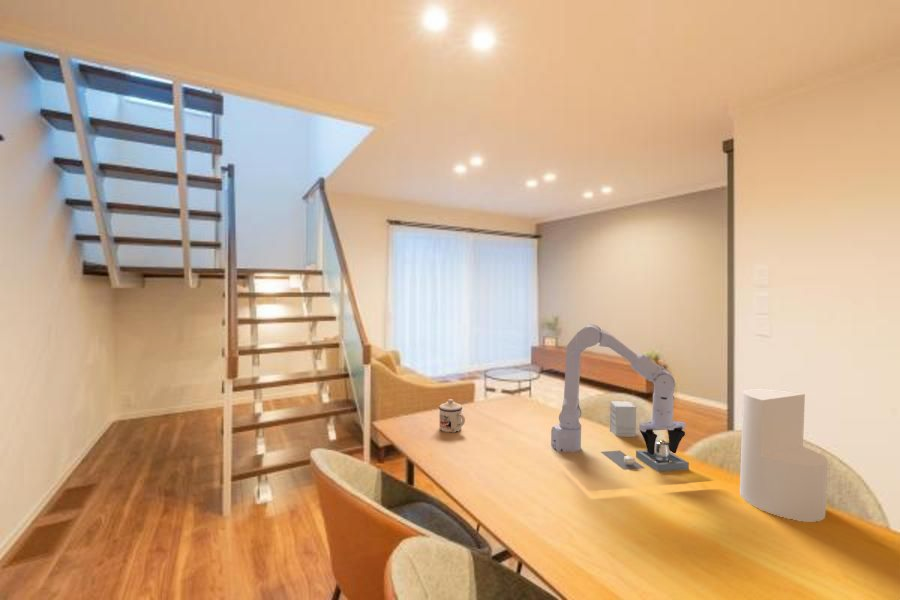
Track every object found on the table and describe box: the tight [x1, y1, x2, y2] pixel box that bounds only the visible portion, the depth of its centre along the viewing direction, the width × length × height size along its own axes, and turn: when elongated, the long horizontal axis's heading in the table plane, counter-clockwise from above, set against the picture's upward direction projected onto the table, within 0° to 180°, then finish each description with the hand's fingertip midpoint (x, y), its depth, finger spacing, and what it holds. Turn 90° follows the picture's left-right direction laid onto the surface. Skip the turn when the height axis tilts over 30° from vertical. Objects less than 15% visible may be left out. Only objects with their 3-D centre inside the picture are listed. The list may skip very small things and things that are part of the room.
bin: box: [635, 449, 690, 472], centre depth 125 cm, size 10×10×4 cm
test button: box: [624, 455, 636, 465], centre depth 123 cm, size 3×3×2 cm
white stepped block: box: [739, 388, 829, 523], centre depth 104 cm, size 17×17×28 cm
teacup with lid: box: [438, 398, 466, 433], centre depth 156 cm, size 12×9×12 cm
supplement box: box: [609, 400, 637, 438], centre depth 150 cm, size 7×7×13 cm
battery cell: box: [654, 439, 670, 463], centre depth 125 cm, size 4×4×8 cm
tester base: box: [600, 450, 645, 471], centre depth 127 cm, size 13×7×2 cm, turn 9°
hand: (661, 452), depth 125 cm, fingers open, 7 cm apart
